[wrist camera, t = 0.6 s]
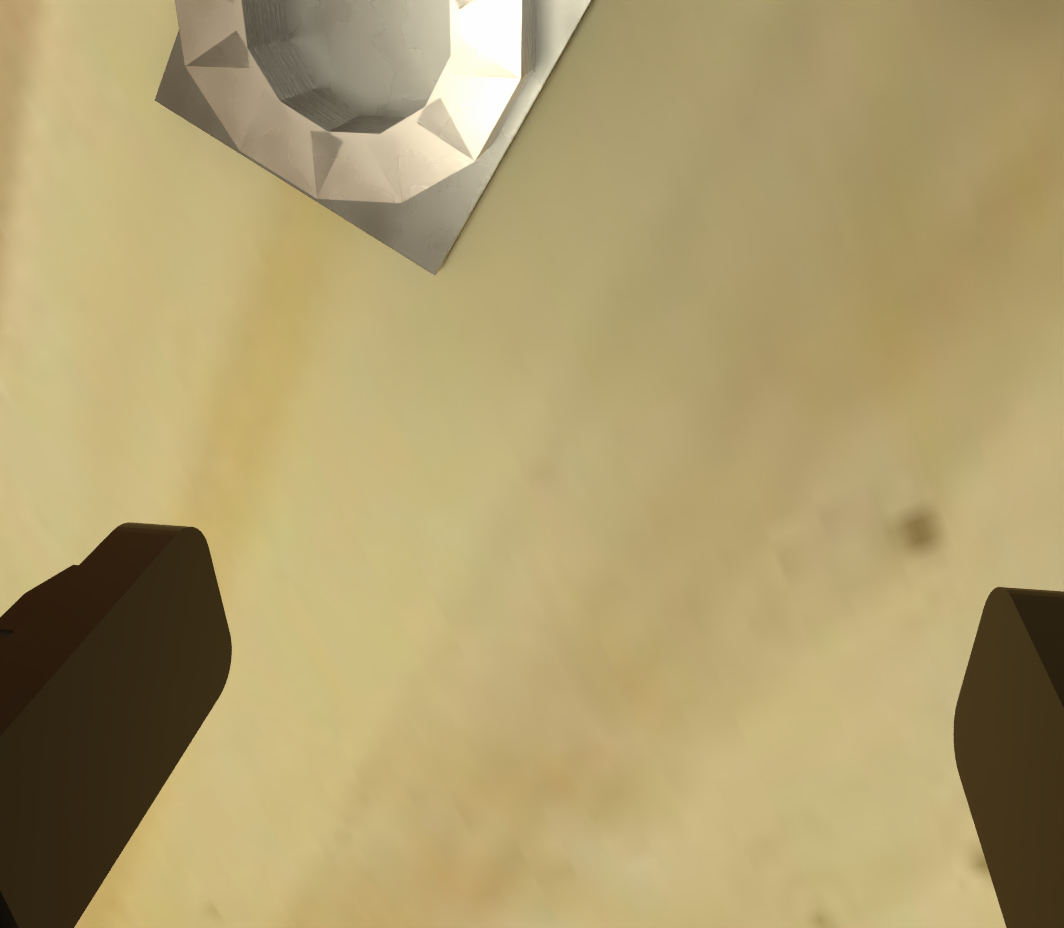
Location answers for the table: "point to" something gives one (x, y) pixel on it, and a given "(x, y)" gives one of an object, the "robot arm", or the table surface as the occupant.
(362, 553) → the table surface
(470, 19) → the bore block
